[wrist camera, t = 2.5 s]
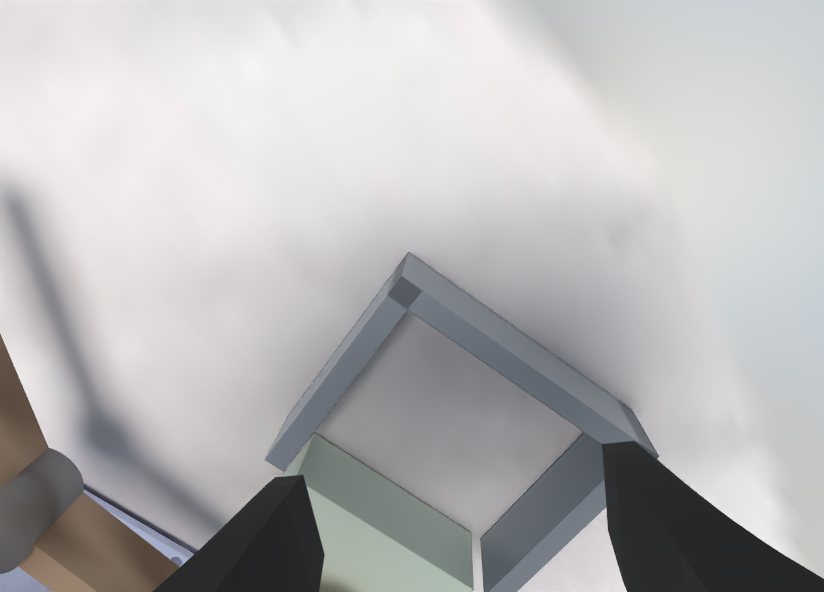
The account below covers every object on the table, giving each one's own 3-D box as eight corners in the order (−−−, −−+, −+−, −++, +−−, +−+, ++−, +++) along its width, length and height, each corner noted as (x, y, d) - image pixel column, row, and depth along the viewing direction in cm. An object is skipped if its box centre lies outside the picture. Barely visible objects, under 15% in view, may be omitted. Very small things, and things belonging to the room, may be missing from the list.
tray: (288, 415, 23) (264, 459, 20) (408, 251, 20) (401, 276, 18) (495, 548, 24) (500, 606, 22) (632, 410, 22) (659, 456, 19)
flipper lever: (-187, 259, 18) (-304, 288, 16) (-70, 177, 17) (-174, 192, 14) (215, 717, 24) (182, 800, 21) (322, 679, 23) (304, 761, 20)
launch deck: (229, 544, 25) (200, 600, 22) (314, 432, 23) (295, 478, 20) (375, 632, 26) (366, 695, 24) (471, 532, 24) (473, 590, 21)
